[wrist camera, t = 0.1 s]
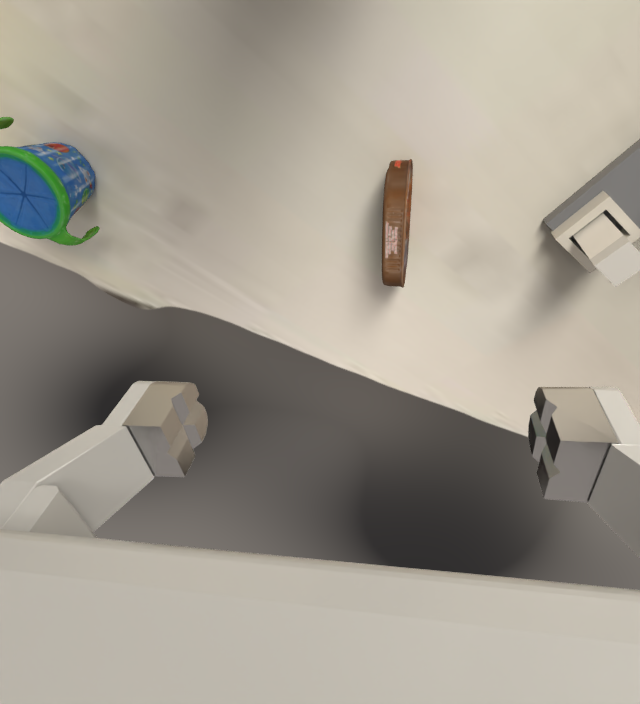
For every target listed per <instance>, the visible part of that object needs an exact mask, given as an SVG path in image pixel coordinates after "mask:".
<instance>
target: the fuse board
mask: <svg viewBox="0 0 640 704" xmlns="http://www.w3.org/2000/svg"><path fill="white" fill-rule="evenodd" d="M601 213H603V214H604V215H605V216H606V217H607V218H608V219H609V220H610V221H611V222H612V223H613V224H614V225H615V226H616V227H617V228H618V230H619V231H620V232H621V233H622V234H623V235H624V236H625V237H626V238H627V239H628V240H629V241H630V242H631V243H633V242H635V241H636V240H637V239H639V238H640V139H639V140H638V141H637V142H636V143H634V144H633V145H632V146H631V147H630V148H628V149H627V150H626V151H625V152H624V153H622V154H621V155H620V156H619V157H618V158H616V159H615V160H614V161H613V162H612V163H610V164H609V165H608V166H607V167H606V168H604V169H603V170H602V171H601V172H600V173H598V174H597V175H596V176H595V177H594V178H592V179H591V180H590V181H589V182H588V183H586V184H585V185H584V186H583V187H582V188H580V189H579V190H578V191H577V192H576V193H574V194H573V195H572V196H571V197H570V198H568V199H567V200H566V201H565V202H564V203H562V204H561V205H560V206H559V207H558V208H556V209H555V210H554V211H553V212H551V213H550V214H549V215H548V216H547V217H545V218H544V219H543V220H544V222H545V223H546V225H547V226H548V227H549V228H550V229H551V230H552V232H551V233H552V235H553V236H554V238H555V240H556V241H558V242H559V243H560V244H561V245H562V246H563V247H564V248H565V249H566V250H567V251H568V252H569V253H570V254H571V255H572V256H573V257H574V258H575V259H576V260H577V261H578V262H579V263H580V264H581V265H582V266H583V267H584V268H585V269H586V270H587V271H588V272H589V273H591V272H592V271H594V270H595V269H596V267H595V266H594V265H593V263H592V262H591V260H590V259H589V258H588V256H587V255H586V253H585V252H584V251H583V249H582V248H581V246H580V245H579V244H578V242H577V241H576V239H575V238H574V237H573V235H574V234H575V233H576V232H578V231H579V230H580V229H582V228H583V227H584V226H585V225H587V224H588V223H589V222H591V221H592V220H593V219H594V218H596V217H597V216H598V215H600V214H601Z"/></svg>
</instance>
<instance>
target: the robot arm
mask: <svg viewBox="0 0 640 704" xmlns="http://www.w3.org/2000/svg"><path fill="white" fill-rule="evenodd" d="M198 395H199V393H198V390H197V388H196V386H195V384H193V383H189V382H163V381H156V382H153V381H152V382H151V381H138V382H136V383H134V384H132V386H131V387H130V389H129V390H128V391H127V392H126V394H125V395H124V396H123V398H122V399H121V401H120V402H119V403H118V404H117V406H116V407H115V409H114V410H113V411H112V412H111V414H110V415H109V416H108V418H107V419H106V421H105V422H104V423H103V424H102V425H97V426H94V427H93V428H91V429H89V430H88V431H86V432H84V433H83V434H81V435H79V436H78V437H76V438H75V439H73V440H71V441H69V442H68V443H66V444H64V445H63V446H61V447H59V448H58V449H56V450H54V451H52V452H51V453H49V454H47V455H46V456H44V457H43V458H41V459H39V460H37V461H36V462H34V463H32V464H31V465H29V466H27V467H26V468H24V469H22V470H21V471H19V472H17V473H16V474H14V475H12V476H11V477H9V478H7V479H6V480H4V481H3V482H2V483H1V485H0V704H640V590H635V589H624V588H613V587H603V586H593V585H581V584H571V583H561V582H551V581H539V580H529V579H519V578H509V577H499V576H487V575H477V574H466V573H456V572H445V571H435V570H424V569H414V568H403V567H393V566H382V565H371V564H361V563H350V562H339V561H329V560H318V559H307V558H298V557H288V556H277V555H267V554H256V553H245V552H235V551H225V550H215V549H204V548H193V547H183V546H173V545H162V544H152V543H141V542H131V541H120V540H110V539H99V538H97V537H96V535H95V534H94V533H93V532H94V531H95V530H97V529H98V528H99V527H100V526H101V525H102V524H103V523H104V522H105V521H106V520H108V519H109V518H110V517H111V516H112V515H113V514H114V513H115V512H117V511H118V510H119V509H120V508H121V507H122V506H123V505H125V504H126V503H127V502H128V501H129V500H130V499H131V498H132V497H134V496H135V495H136V494H137V493H138V492H139V491H140V490H141V489H142V488H144V487H145V486H146V485H147V484H148V483H149V482H150V481H151V480H153V479H154V476H167V477H185V476H186V474H187V472H188V470H189V468H190V466H191V464H192V462H193V460H194V458H195V453H194V450H193V449H194V448H195V447H196V446H198V445H199V444H200V443H202V441H203V439H204V437H205V434H206V430H207V424H208V420H207V414H206V411H205V408H204V406H203V405H201V404H200V403H199V402H198V401H196V399H197V397H198ZM534 403H535V406H536V409H537V410H536V411H535V412H534V413H532V414H531V415H530V421H529V431H528V438H529V445H530V450H531V454H532V457H534V458H535V459H536V460H537V461H538V462H539V465H538V469H537V476H538V479H539V483H540V487H541V490H542V494H543V498H544V499H552V500H564V501H575V502H587V503H588V505H589V506H590V507H591V508H592V510H593V511H594V512H595V513H597V515H598V516H599V517H600V518H601V519H602V520H603V521H604V522H605V523H606V524H607V525H608V526H609V527H610V528H611V529H612V530H613V531H614V532H615V533H616V535H618V537H619V538H620V539H621V540H622V541H623V542H624V543H625V544H626V545H627V546H628V547H629V548H630V549H631V550H632V551H633V552H634V553H635V554H636V555H637V556H638V557H639V558H640V424H639V423H638V421H637V419H636V417H635V415H634V414H633V412H632V410H631V408H630V407H629V405H628V403H627V401H626V399H625V398H624V396H623V394H622V392H621V390H620V389H618V388H617V387H589V388H588V387H538V389H537V391H536V393H535V397H534Z"/></svg>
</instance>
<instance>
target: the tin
mask: <svg viewBox="0 0 640 704" xmlns="http://www.w3.org/2000/svg"><path fill="white" fill-rule="evenodd" d="M412 173H413V165H412V159H410V160H396V161H391V162H390V165H389V168H388V170H387V173H386V179H385V187H384V201H383V230H382V280H383V284H384V285H387V286H400V287H404V283H405V275H406V267H407V258H408V243H409V228H410V211H411V195H412Z"/></svg>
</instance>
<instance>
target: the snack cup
mask: <svg viewBox="0 0 640 704" xmlns="http://www.w3.org/2000/svg"><path fill="white" fill-rule="evenodd" d="M13 121H14V119H13V118H11V117H2V118H0V129H3V128H8V127H9V126H10V125H11V124H12V123H13ZM94 180H95V174H94V171H93V170H92V169H91V167H90V165H89V163H88V162H87V160H86V159H85V158H84V157H83V156H82V155H81V154H80V153H79V152H78V151H77V149H75V148H74V147H72V146H69V145H66V144H62V143H44V144H39V145H28V146H23V147H9V146H3V147H1V146H0V221H1V222H2V223H3V224H4V225H6V226H7V227H8V228H10V229H11V230H13V231H15V232H17V233H19V234H21V235H24V236H27V237H30V238H36V239H45V238H47V239H50V240H52V241H54V242H57V243H59V244H64V245H78V244H81V243H83V242H84V241H86V240H88V239H90V238H91V237H93V236H94V235H95V234H96V233H97V232H98V230H99V227H98V226H96V227H94V228H92V229H90V230H89V231H87V232H86V235H85V236H84V237H83V238H82V239H80V238H77V237H74V236H71V235H70V234H69V233H68V232H67V230H66V226H67V224H68V222H69V220H70V218H71V217H72V216H73V214H74V213H75V212H76V211H77V210H78V209H79V208H80V207H81V206H82V205H83V204H84V203H85V202H86V201H87V200H88V199H89V198H90V196H91V194H92V192H93V190H94V186H95V182H94Z"/></svg>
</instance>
